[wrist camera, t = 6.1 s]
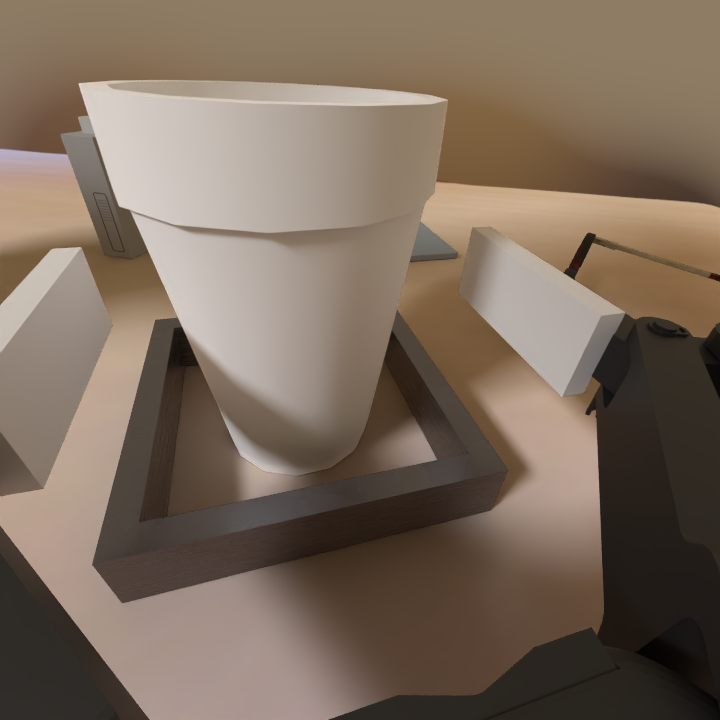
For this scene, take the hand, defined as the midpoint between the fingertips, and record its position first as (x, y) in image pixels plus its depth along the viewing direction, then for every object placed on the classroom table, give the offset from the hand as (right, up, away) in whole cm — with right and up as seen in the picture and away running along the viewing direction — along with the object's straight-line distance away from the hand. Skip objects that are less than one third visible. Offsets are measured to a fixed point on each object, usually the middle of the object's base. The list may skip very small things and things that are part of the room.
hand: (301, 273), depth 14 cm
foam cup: (-1, -6, +5) cm, 8 cm away
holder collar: (-1, -6, +5) cm, 8 cm away
